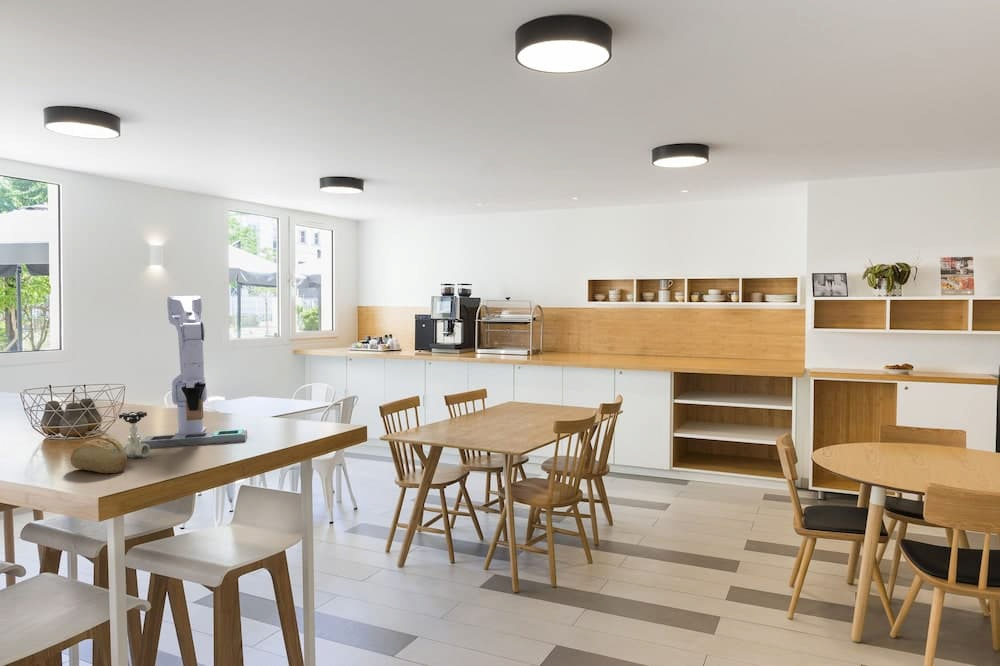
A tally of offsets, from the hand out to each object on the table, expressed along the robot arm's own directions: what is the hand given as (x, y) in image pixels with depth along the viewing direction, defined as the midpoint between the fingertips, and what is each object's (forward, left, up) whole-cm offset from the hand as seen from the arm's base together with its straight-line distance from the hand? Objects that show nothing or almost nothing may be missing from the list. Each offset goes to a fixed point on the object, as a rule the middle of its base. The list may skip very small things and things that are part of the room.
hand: (194, 409), depth 203 cm
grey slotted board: (0, 0, -10) cm, 10 cm away
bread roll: (+29, -18, -10) cm, 36 cm away
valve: (+16, -13, -10) cm, 23 cm away
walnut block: (0, 0, -3) cm, 3 cm away
